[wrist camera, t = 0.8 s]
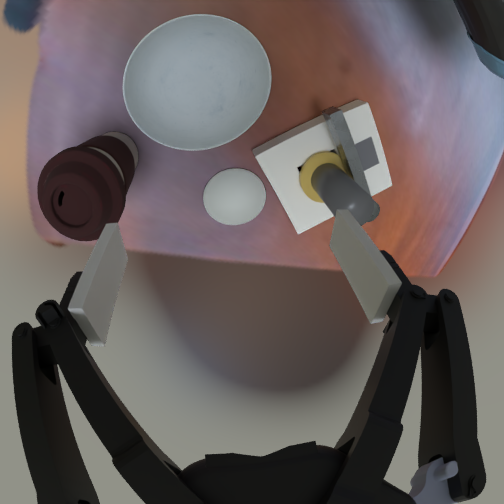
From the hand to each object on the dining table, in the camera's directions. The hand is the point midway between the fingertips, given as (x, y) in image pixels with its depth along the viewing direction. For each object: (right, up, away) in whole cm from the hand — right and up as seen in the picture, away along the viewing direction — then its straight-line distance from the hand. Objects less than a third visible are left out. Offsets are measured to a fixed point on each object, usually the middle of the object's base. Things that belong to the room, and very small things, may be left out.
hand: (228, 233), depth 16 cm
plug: (+11, +11, +22) cm, 27 cm away
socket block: (+12, +12, +22) cm, 28 cm away
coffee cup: (-17, +12, +17) cm, 27 cm away
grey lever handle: (+14, +10, +18) cm, 25 cm away
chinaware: (-5, +20, +13) cm, 25 cm away
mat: (-1, +7, +24) cm, 25 cm away
